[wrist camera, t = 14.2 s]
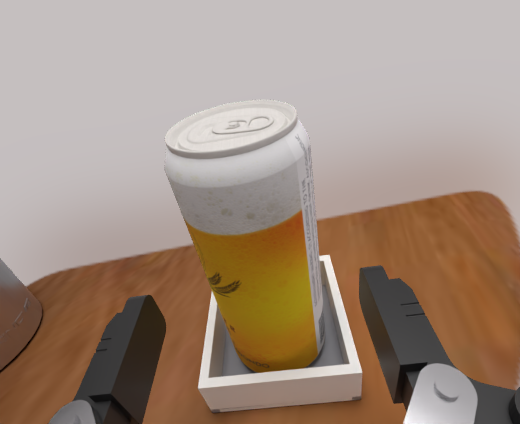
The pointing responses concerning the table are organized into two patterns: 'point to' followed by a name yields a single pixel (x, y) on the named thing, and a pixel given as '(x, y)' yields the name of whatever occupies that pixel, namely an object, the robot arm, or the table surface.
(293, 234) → the beer can
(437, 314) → the table surface
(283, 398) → the white square tray
